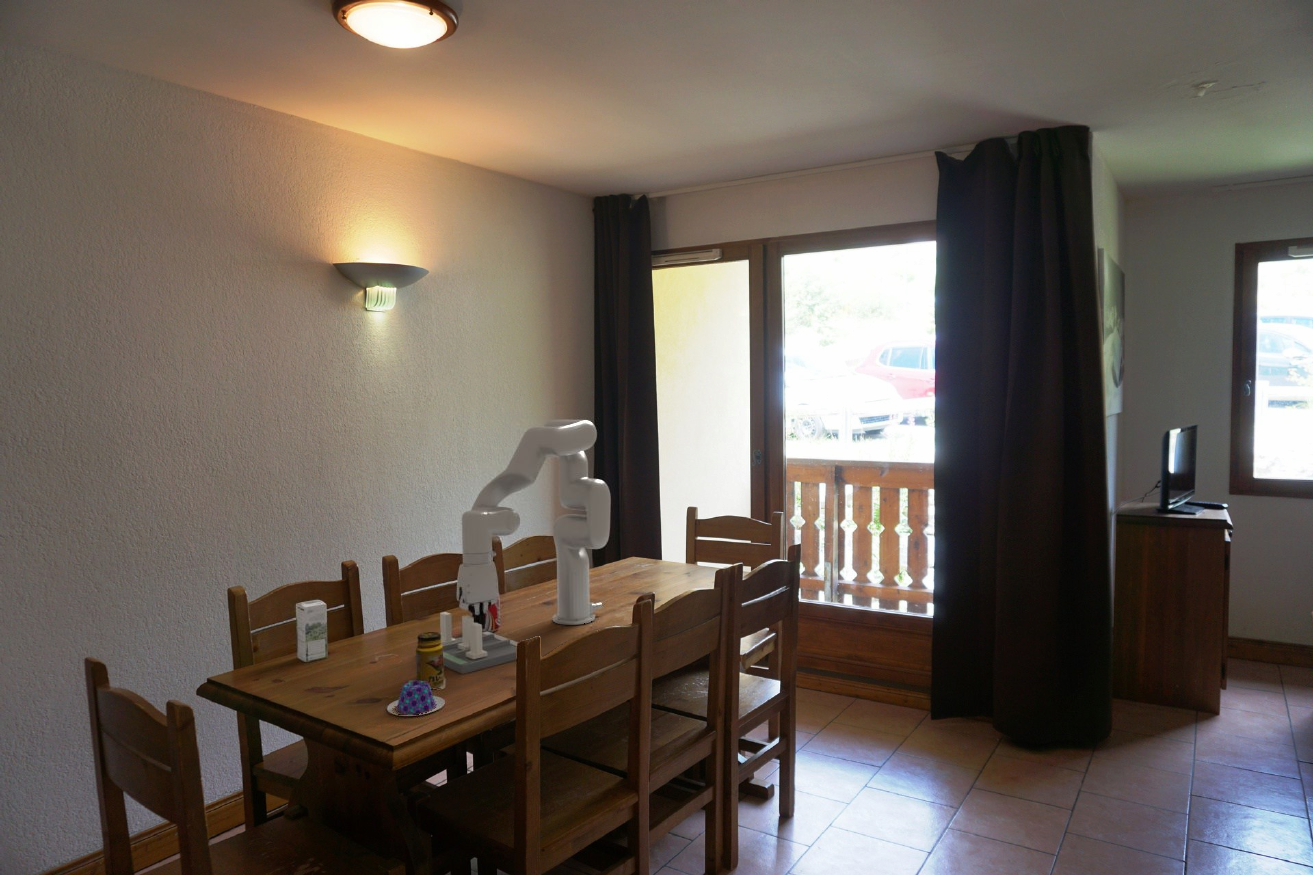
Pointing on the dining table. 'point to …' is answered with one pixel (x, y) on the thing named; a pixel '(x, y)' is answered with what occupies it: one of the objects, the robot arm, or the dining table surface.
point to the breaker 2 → (476, 642)
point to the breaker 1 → (446, 628)
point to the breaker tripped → (466, 632)
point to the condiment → (430, 660)
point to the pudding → (416, 699)
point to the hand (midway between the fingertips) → (479, 628)
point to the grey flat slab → (496, 651)
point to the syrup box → (311, 630)
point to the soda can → (493, 617)
